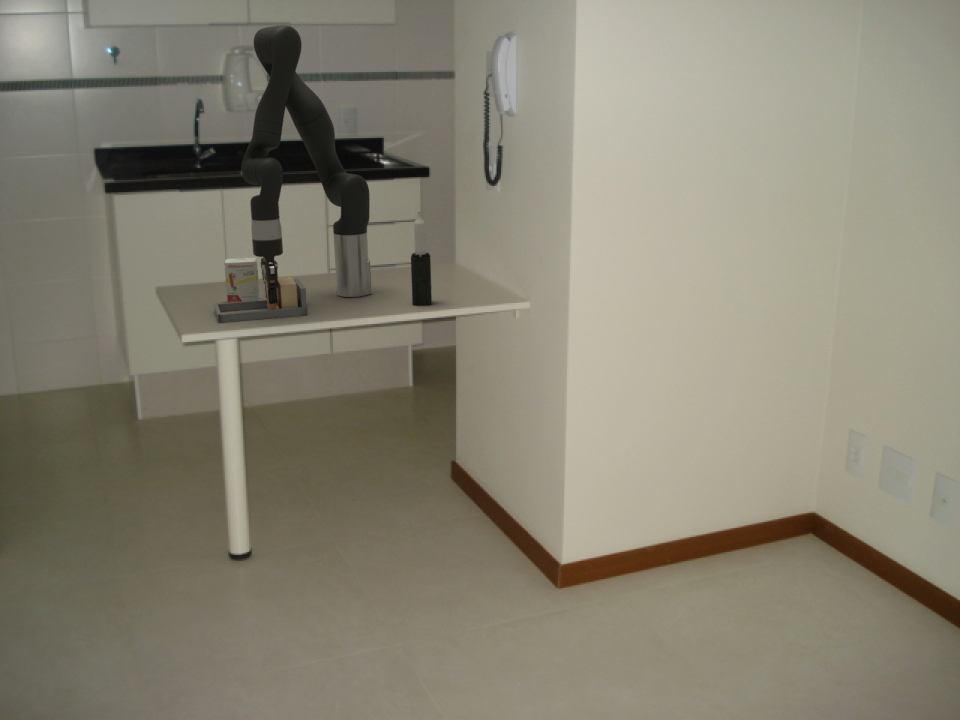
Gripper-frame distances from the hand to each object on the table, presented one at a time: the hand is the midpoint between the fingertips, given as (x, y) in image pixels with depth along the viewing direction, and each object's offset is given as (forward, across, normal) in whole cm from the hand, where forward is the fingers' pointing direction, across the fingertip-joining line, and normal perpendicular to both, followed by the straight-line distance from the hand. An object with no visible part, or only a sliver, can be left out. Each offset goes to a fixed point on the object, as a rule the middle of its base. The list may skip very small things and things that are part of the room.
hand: (271, 300), depth 261 cm
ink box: (+3, +14, +6) cm, 16 cm away
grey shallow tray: (+3, 0, +3) cm, 4 cm away
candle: (+3, -5, -39) cm, 39 cm away
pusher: (+3, 0, 0) cm, 3 cm away
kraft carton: (+3, 0, -4) cm, 5 cm away
